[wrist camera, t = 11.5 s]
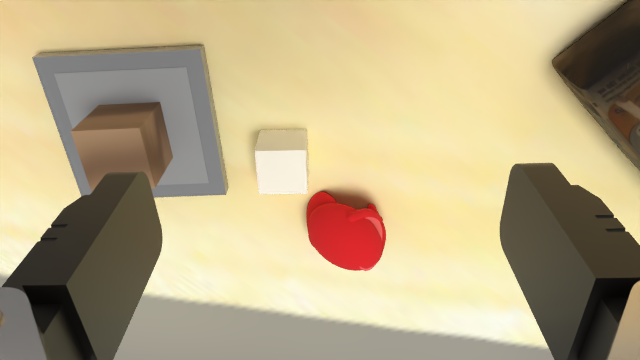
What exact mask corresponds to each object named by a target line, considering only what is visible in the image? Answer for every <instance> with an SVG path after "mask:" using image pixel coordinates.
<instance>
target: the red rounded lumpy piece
mask: <svg viewBox="0 0 640 360" xmlns="http://www.w3.org/2000/svg"><path fill="white" fill-rule="evenodd" d="M382 221H383V219H382V217H381V216H380V215H379V213H378V211H377V209H376V207H375V206H374V205H373V204H369V205H368V209H367V208H366V209H360V210H356V209H354V208H352V207H350V206H347V205H344V204H340V203H337V202H336V201H335V199H334V198H333V197H332V196H331V195H329V194H328V193H325V192H319V193H317V194H315V195H314V196H313V197H312V198H311V200H310V202H309V204H308V208H307V226H308V234H309V240H310V242H311V244H312V245H313V247H315V248H316V250H317V251H318V252H319V253H320V254H321V255H322V256H323V257H324V258H325V259H326V260H328V261H329V262H331V263H332V264H334V265H336V266H338V267H341V268H344V269H348V270H364V271H368V270H370V269H372V268H373V267H374V266H375V265H376V263H377V262H378V261H379V260H380V258H381V255H382V252H383V249H384V245H385V240H386V231H385V227H384V224H383V222H382Z"/></svg>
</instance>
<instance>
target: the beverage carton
mask: <svg viewBox="0 0 640 360" xmlns="http://www.w3.org/2000/svg"><path fill="white" fill-rule="evenodd" d="M552 63H553V66H554V68H555V69H556V71H557V72H558V74H559V75H560V76H561V77H562V79H563V80H564V82H565V83H566V84H567V85H568V87H569V88H570V89H571V90H572V92H573V93H574V94H575V95H576V96H577V98H578V99H579V100H580V102H581V103H582V104H583V105H584V107H585V108H586V109H587V110H588V111H589V112H590V114H591V115H592V116H593V117H594V118H595V119H596V121H597V122H598V123H599V124H600V125H601V126H602V128H603V129H604V130H605V131H606V133H607V134H608V135H609V136H610V137H611V138H612V140H613V141H614V142H615V143H616V144H617V146H618V147H619V148H620V149H621V150H622V152H623V153H624V154H625V155H626V156H627V157H628V158H629V159H630V160H631V162H632V163H633V164H634V165H635V166H636V167H637V168H638V169H639V170H640V0H629V1H628V2H626V3H625V4H624V5H623V6H621V7H620V8H619V9H618V10H617V11H616V12H615V13H613V14H612V15H611V16H609V17H608V18H607V19H605V20H604V21H603V22H602V23H600V24H599V25H598V26H597V27H595V28H594V29H592V30H591V31H589V32H588V33H587V34H585V35H584V36H583V37H582V38H581V39H579V40H578V41H577V42H575V43H574V44H572V45H571V46H570V47H569V48H568V49H567V50H565V51H564V52H563V53H561V54H560V55H559V56H557V57H556V58H555V59H554V60H553V62H552Z"/></svg>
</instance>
